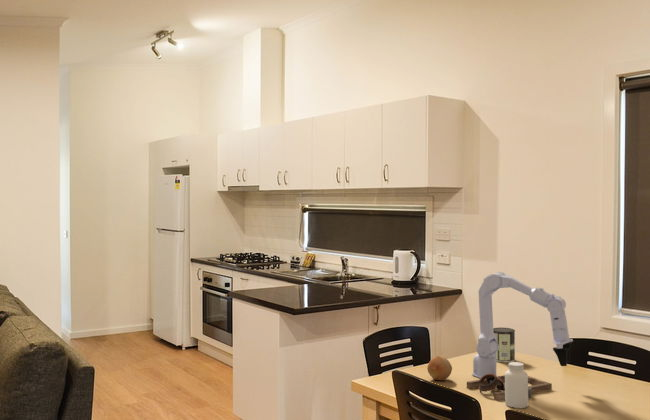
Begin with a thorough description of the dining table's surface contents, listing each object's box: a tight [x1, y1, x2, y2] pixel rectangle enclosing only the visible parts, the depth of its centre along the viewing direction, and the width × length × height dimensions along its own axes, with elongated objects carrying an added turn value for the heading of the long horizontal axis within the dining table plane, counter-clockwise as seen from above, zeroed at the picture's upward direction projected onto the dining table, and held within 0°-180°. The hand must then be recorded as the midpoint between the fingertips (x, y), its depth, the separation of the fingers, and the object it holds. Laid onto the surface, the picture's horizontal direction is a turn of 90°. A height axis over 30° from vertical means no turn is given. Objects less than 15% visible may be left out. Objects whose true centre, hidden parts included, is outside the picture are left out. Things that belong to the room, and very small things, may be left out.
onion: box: [427, 355, 453, 381], centre depth 252 cm, size 10×10×10 cm
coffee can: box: [493, 327, 516, 364], centre depth 284 cm, size 10×10×14 cm
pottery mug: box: [478, 374, 505, 393], centre depth 236 cm, size 12×10×8 cm
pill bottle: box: [504, 361, 529, 409], centre depth 220 cm, size 8×8×15 cm
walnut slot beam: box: [466, 374, 553, 401], centre depth 239 cm, size 17×28×2 cm, turn 116°
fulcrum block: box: [528, 387, 532, 399], centre depth 230 cm, size 3×3×3 cm
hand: (565, 363), depth 237 cm, fingers open, 7 cm apart
